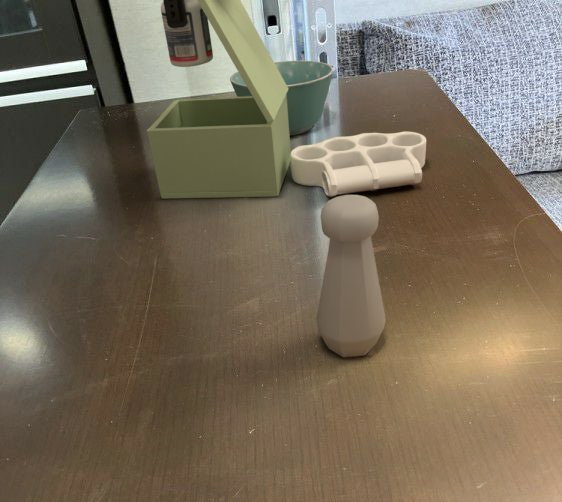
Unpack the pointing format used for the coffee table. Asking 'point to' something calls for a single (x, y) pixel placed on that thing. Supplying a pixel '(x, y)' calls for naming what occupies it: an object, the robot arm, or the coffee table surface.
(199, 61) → the pill bottle
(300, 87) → the bowl
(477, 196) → the coffee table surface
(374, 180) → the knuckle duster
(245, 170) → the bin
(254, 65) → the bin lid
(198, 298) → the coffee table surface
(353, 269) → the salt shaker
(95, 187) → the coffee table surface
